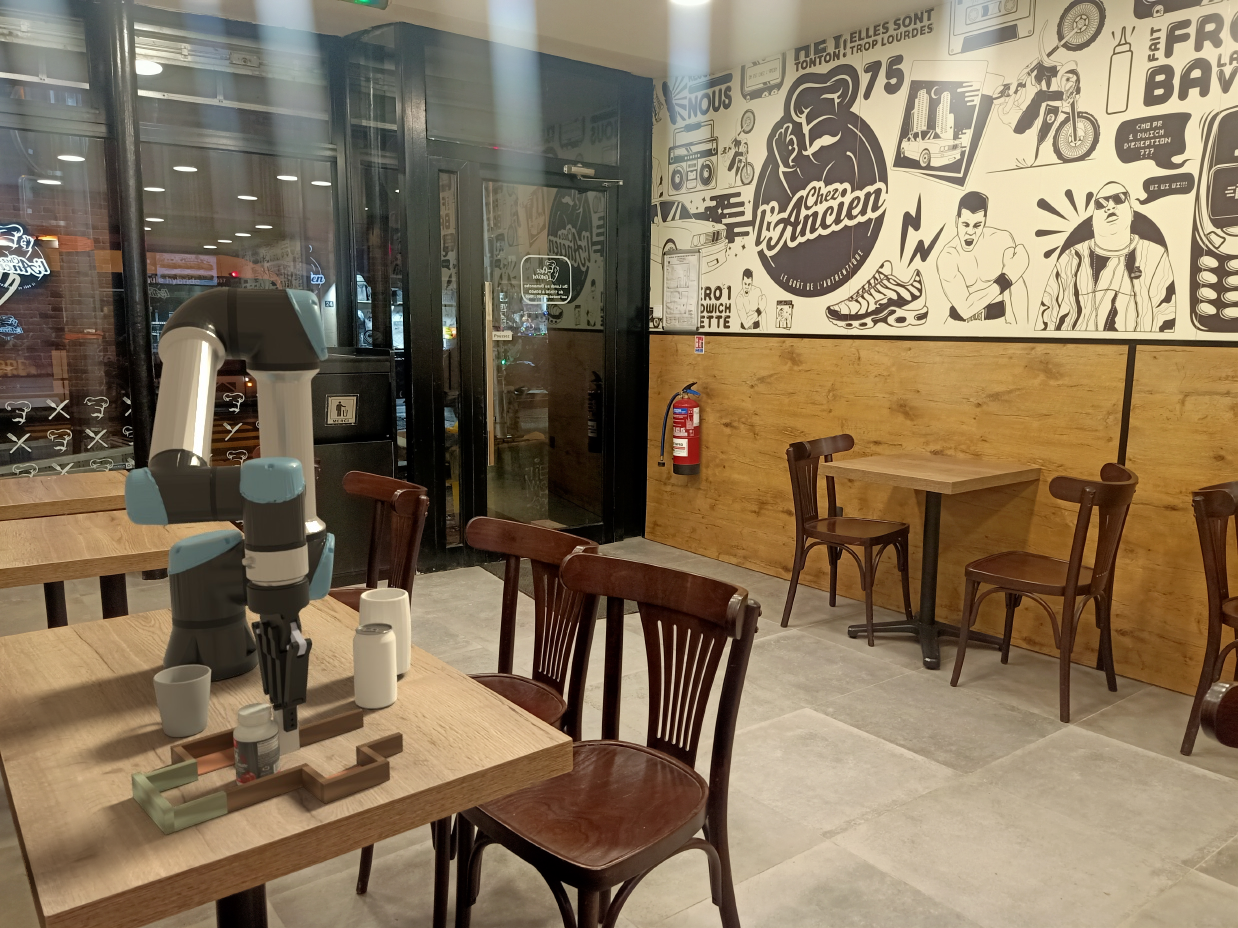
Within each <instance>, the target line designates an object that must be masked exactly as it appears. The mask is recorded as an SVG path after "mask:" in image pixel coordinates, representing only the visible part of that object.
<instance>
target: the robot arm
mask: <svg viewBox="0 0 1238 928" xmlns="http://www.w3.org/2000/svg"><path fill="white" fill-rule="evenodd" d="M321 315H322V314H321V309H320V303H319V299H318V297H317V295H316V294H315V293H314V292H312V291H311V290H310V291H309V290H304V289H293V288H292V289H291V288H288V287H287V288H244V287H243V288H239V287H238V288H235V287H233V288H232V287H216V288H215V287H214V288H212V289H208V290H205V291H203V292H199V293H197V294H196V295H193V296H192V297H191V298H188V299H187V300H186V301H185V302H183V303H182V304H181V305H179V307H177V308H176V310H175V311H173V313H172V314H171V315H170V317H169V318H168V319H167V320H166V322H165V323H164V326H163V328H162V330H161V331H160V332H161V333H160V336H159V339H158V340H159V341H158V347H157V351H158V352H157V353H158V356H159V359H160V361H161V362H162V369H161V376H160V382H159V390H158V396H157V404H156V409H155V410H156V411H155V415H154V416H155V417H154V422H153V430H152V437H151V442H150V443H151V444H150V450H149V456H148V464H147V465H148V467H147V466H146V467H142V468H137V469H135V468H134V469H131V470H130V471H129V472H128V474H127V475H126V477H125V482H124V503H125V511H126V515H127V517H128V519H129V520H130V522H132V523H133V524H134V525H137V526H138V525H140V526H165V527H167V526H168V525H170V526H171V525H183V524H197V523H199V524H200V523H212V522H213V523H215V522H218V523H219V522H223V523H224V522H225V523H226V522H238V521H239V522H240V521H242V524H243V525H242V526H243V533H242V532H241V530H238V529H235V528H234V529H219V530H213V531H207V532H202V533H199V534H194V535H192V536H187V537H185V538H182V539H181V540H178V541H176V542H175V543H173V544H172V546H170V549H168V569H167V574H168V578H169V579H168V582H169V593H170V594H169V595H170V607H171V608H170V609H171V611H170V612H171V622H172V623H171V624H172V625H171V626H172V628H171V632H170V636H169V639H168V643H167V646H166V649H165V652H164V656H163V660H162V661H163V662H162V664H163V665H162V666H163V670H165V669H168V668H172V667H177V666H183V665H203V666H207V667H209V668H210V669H211V682H212V681H219V680H220V681H221V680H224V679H229V678H233V677H236V676H239V675H243V674H245V673H248V672H249V671H251V670H253V669H255V667H257V666H258V665H259V672H260V678H261V684H262V685H261V686H262V691H263V694H264V696H268V698H269V702H270V704H271V705H272V706H271V707H272V720H274V721H275V722H276V723H277V725H278V730H279V751H280V757H282V756H286V755H288V754H291V753H293V752H296V751H300V749H301V747H300V745H299V727H300V726H299V714H298V708H299V707H298V706H301V705H303V704H306V703H307V695H308V679H309V666H310V665H309V664H310V663H309V662H310V654H311V651H312V647H313V640H312V639H311V637H307V638H304V637H303V635H302V631H303V628H302V627H303V626H302V622H301V618H300V617H301V616H300V613H301V611H302V610H303V609H305V608H306V607H308V606H309V604H310V601H319V600H322V599H325V598H326V597H327V596H328V595H329V593H330V591H331V590H330V589H331V583H332V577H333V570H334V568H333V565H334V554H335V535H334V534H333V533H330V532H327V528H326V527H327V526H326V523H325V522H324V521H323V520H321V518H319V517H318V516H317V503H316V502H317V501H316V480H315V479H316V478H315V476H316V475H315V454H314V452H315V451H314V430H313V429H314V428H313V403H312V379H313V378H314V377H315V376H316V375H317V374H318V373H319V372H320V368H321V367H320V361H324V360H327V359H328V357H329V356H328V348H327V344H326V337H325V332H324V326H323V319H322V316H321ZM225 360H245V365H246V372H247V373H248V374H249V375H250V376H252V377H253V378H254V379H255V380H256V389H257V390H256V391H257V411H258V413H257V414H258V427H259V430H258V432H259V433H258V434H259V447H260V450H259V451H260V457H258V458H253V459H249V460H246V461H244V462H243V463H242V464H241V465H226V466H225V465H224V466H221V465H220V466H218V465H215V466H210V459H211V451H212V450H211V448H212V435H213V426H214V425H213V424H214V413H215V412H214V411H215V399H216V387H217V379H218V378H217V377H218V376H217V375H218V370H220V369H221V367H222V366H223V365H224V362H225ZM243 534H244V535H243ZM246 607H247V608H248V610H249V611H250V612H251V613H253V614H257V615H259V620H257V621H252V622H251V625H249V623H248V619H247V611H246V610H247V609H246ZM250 627H251V628H250Z"/></svg>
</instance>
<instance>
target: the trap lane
mask: <svg viewBox="0 0 1238 928" xmlns="http://www.w3.org/2000/svg"><path fill="white" fill-rule="evenodd" d="M236 727H237V726H235V727H232V728H228V729H225V730H221V731H218V732H217V731H216V732H215V733H211V734H207V735H203V736H200V737H197V738H193V739H191V740H186V741H183V742H180V743H175V744H172V745H170V760H171V761H170V762H171V765H170V766H166V767H163V768H160V769H157V770H152V771H150V772H147V773H142V772H141V771H138V772H133V773H131V774H130V775H131V776H130V777H131V789H132V798H133V799H134V800H135V801H136V802H137V804H138V805H140V807H141V808H142V810H144V811H145V813H146V814H147V815H148V816H149V817H150V819H151V820H152V821H153V822H154V823H155V824H156V825H157V827H158V828H159V829H160V830H161V832H163V834H165V835H169V834H173V833H175V832H179V831H181V830H183V829H186V828H189V827H191V826H196V825H198V824H200V823H203V822H206V821H209V820H213V819H214V818H218V817H220V816H223V815H227V814H228V813H232V812H234V811H237V810H240V809H242V808H243V809H244V808H245V807H249V806H252V805H255V804H257V803H260V802H263V801H266V800H269V799H271V798H274V797H277V796H280V795H282V794H286V793H288V792H292V791H295V790H297V789H299V788H304V789H306V790H307V791H308V792H309V793H311V794H312V795H313V796H314V797H316V798H317V799H318V800H319V801H321V802H322V803H323V804H328V803H330V802H333V801H336V800H339V799H342V798H344V797H345V798H346V796H347V797H348V796H350V795H353V794H355V793H358V792H361V791H364V790H366V789H369V788H371V787H373V786H374V787H375V786H376V785H379V784H382V783H385V782H388V781H391V776H390V775H391V769H390V768H391V765H390V760H388V759H386V758H388V757H391V756H393V755H396V754H399V753H403V752H404V743H403V742H404V739H403V737H404V736H403V733H401V732H400V731H397V732H395V733H391V734H388V735H385V736H382V737H380V738H379V737H378V738H376V739H374V740H373V739H372V740H370V741H368V742H364V743H360V744H359V745H356V746H355V757H356V759H355V761H356V766H355V767H352V768H349V769H346V770H343V771H340V772H337V773H334V774H332V775H329V776H326V777H325V776H324V775H323V774H322V773H321V772H319V771H318V770H317V769H315V768H314V767H312V766H311V765H310V764H309V763H308V762H305V763H302V764H298V765H296V766H292V767H290V768H287V769H284V770H280V772H277V773H274V774H271V775H268V776H265V777H262V778H259V779H256V780H253V781H250V782H247V783H244V784H241V785H236V786H233V787H230V788H227V789H224V790H221V791H218V792H215V793H212V794H209V795H206V796H203V797H200V798H198V799H194V800H191V801H187V802H185V803H181V804H180V805H176V806H173V805H172V804H171V803H170V802H169V801H168V800H167V798H165V796H163V794H162V793H161V792H164V791H167V790H170V789H174V788H176V787H179V786H183V785H186V784H189V783H192V782H195V781H199V776H202V775H205V774H208V773H211V772H214V771H217V770H220V769H224V768H226V767H229V766H230V767H231V766H234V765H235V753H234V738H233V732H234V729H235V728H236ZM360 728H364V710H363V709H362V708H357V709H354V710H349V711H347V712H344V713H340V714H337V715H334V716H330V717H327V718H324V719H321V720H317V721H315V722H311V723H308V724H304V725H301V726H299V745H300V748H302V747H305V746H309V745H311V744H313V743H317V742H320V741H323V740H326V739H329V738H332V737H335V736H338V735H341V734H344V733H348V732H351V731H354V730H358V729H360Z"/></svg>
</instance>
